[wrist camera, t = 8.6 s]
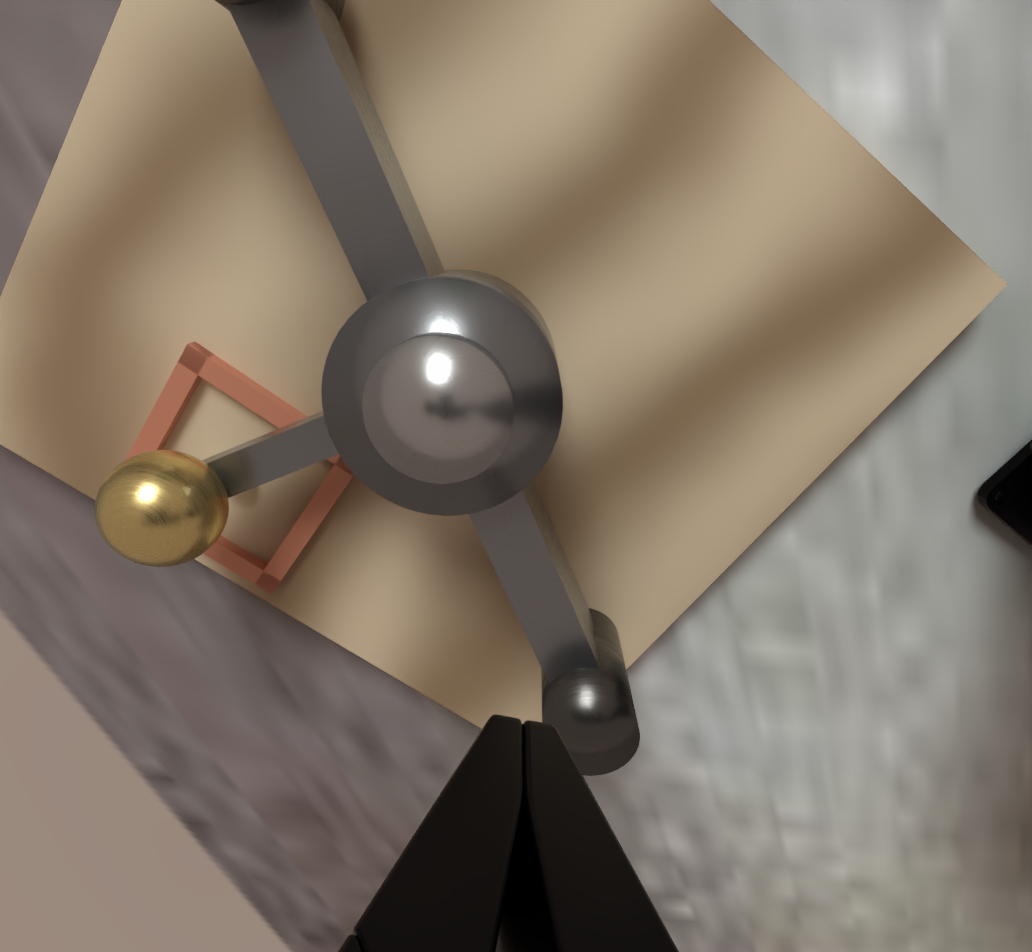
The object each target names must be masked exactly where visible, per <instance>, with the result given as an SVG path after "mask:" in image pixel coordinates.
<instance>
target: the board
mask: <svg viewBox="0 0 1032 952" xmlns="http://www.w3.org/2000/svg"><path fill="white" fill-rule="evenodd" d="M339 23H340V26H341V28H342V31H343V33H344V35H345V38H346V40H347V42H348V45H349V47H350V49H351V52H352V54H353V56H354V59H355V61H356V63H357V66H358V68H359V70H360V73H361V75H362V78H363V80H364V82H365V85H366V87H367V89H368V92H369V94H370V96H371V99H372V101H373V103H374V106H375V108H376V110H377V113H378V115H379V117H380V120H381V122H382V125H383V127H384V129H385V132H386V134H387V136H388V139H389V141H390V143H391V146H392V148H393V150H394V153H395V155H396V157H397V160H398V162H399V164H400V167H401V169H402V172H403V174H404V176H405V179H406V181H407V183H408V186H409V188H410V190H411V193H412V195H413V197H414V200H415V202H416V204H417V207H418V209H419V211H420V214H421V216H422V219H423V221H424V223H425V226H426V228H427V230H428V233H429V235H430V237H431V240H432V242H433V244H434V247H435V249H436V251H437V254H438V256H439V258H440V261H441V263H442V266H443V268H444V270H454V269H464V270H474V271H479V272H484V273H487V274H490V275H493V276H495V277H498V278H500V279H502V280H504V281H506V282H508V283H510V284H511V285H512V286H514V287H515V288H517V289H518V290H519V291H521V292H522V293H523V294H524V295H525V296H526V297H527V298H528V299H529V300H530V301H531V302H532V303H533V305H534V306H535V307H536V308H537V309H538V311H539V312H540V314H541V316H542V317H543V319H544V320H545V322H546V325H547V327H548V329H549V331H550V334H551V337H552V340H553V344H554V349H555V354H556V359H557V364H558V369H559V374H560V380H561V386H562V393H563V412H562V422H561V426H560V431H559V435H558V438H557V441H556V443H555V446H554V449H553V451H552V453H551V455H550V457H549V458H548V460H547V462H546V464H545V465H544V467H543V468H542V469H541V471H540V472H539V473H538V475H537V476H536V477H535V478H534V482H535V484H536V486H537V489H538V491H539V494H540V496H541V498H542V501H543V503H544V505H545V508H546V510H547V512H548V515H549V517H550V519H551V522H552V524H553V526H554V529H555V531H556V533H557V536H558V538H559V541H560V543H561V545H562V548H563V550H564V552H565V555H566V557H567V559H568V562H569V564H570V566H571V569H572V571H573V573H574V576H575V578H576V580H577V583H578V585H579V588H580V590H581V592H582V595H583V597H584V599H585V602H586V604H587V606H588V608H591V609H594V610H597V611H599V612H601V613H603V614H605V615H606V616H607V617H609V618H610V619H611V621H612V622H613V623H614V625H615V626H616V628H617V631H618V635H619V639H620V644H621V649H622V653H623V658H624V663H625V667H626V670H627V669H628V668H629V667H630V666H631V665H632V664H633V663H634V662H635V661H636V660H637V659H638V658H639V656H640V655H641V654H642V653H643V652H644V651H645V650H646V649H647V648H648V647H649V646H650V645H651V644H652V643H653V642H654V641H655V640H656V639H657V638H658V637H659V636H660V635H661V634H662V633H663V632H664V631H665V630H666V629H667V628H668V627H669V626H670V625H671V624H672V623H673V622H674V621H675V620H676V619H677V618H678V617H679V616H680V615H681V614H682V613H683V612H684V611H685V610H686V609H687V608H688V607H689V606H690V605H691V604H692V603H693V602H694V601H695V600H696V599H697V598H698V597H699V596H700V595H701V594H702V593H703V592H704V591H705V590H706V589H707V588H708V587H709V586H710V585H711V584H712V583H713V582H714V581H715V580H716V579H717V578H718V577H719V576H720V575H721V574H722V573H723V572H724V571H725V570H726V569H727V568H728V567H729V566H730V565H731V564H732V563H733V562H734V561H735V560H736V559H737V558H738V557H739V556H740V555H741V554H742V553H743V552H744V551H745V550H746V549H747V547H748V546H749V545H750V544H751V543H752V542H753V541H754V540H755V539H756V538H757V537H758V536H759V535H760V534H761V533H762V532H763V531H764V530H765V529H766V528H767V527H768V526H769V525H770V524H771V523H772V522H773V521H774V520H775V519H776V518H777V517H778V516H779V515H780V514H781V513H782V512H783V511H784V510H785V509H786V508H787V507H788V506H789V505H790V504H791V503H792V502H793V501H794V500H795V499H796V498H797V497H798V496H799V495H800V494H801V493H802V492H803V491H804V490H805V489H806V488H807V487H808V486H809V485H810V484H811V483H812V482H813V481H814V480H815V479H816V478H817V477H818V476H819V475H820V474H821V473H822V472H823V471H824V470H825V469H826V468H827V467H828V466H829V465H830V464H831V463H832V462H833V461H834V460H835V459H836V458H837V457H838V456H839V455H840V454H841V453H842V452H843V451H844V450H845V449H846V448H847V447H848V446H849V445H850V444H851V443H852V442H853V441H854V440H855V439H856V437H857V436H858V435H859V434H860V433H861V432H862V431H863V430H864V429H865V428H866V427H867V426H868V425H869V424H870V423H871V422H872V421H873V420H874V419H875V418H876V417H877V416H878V415H879V414H880V413H881V412H882V411H883V410H884V409H885V408H886V407H887V406H888V405H889V404H890V403H891V402H892V401H893V400H894V399H895V398H896V397H897V396H898V395H899V394H900V393H901V392H902V391H903V390H904V389H905V388H906V387H907V386H908V385H909V384H910V383H911V382H912V381H913V380H914V379H915V378H916V377H917V376H918V375H919V374H920V373H921V372H922V371H923V370H924V369H925V368H926V367H927V366H928V365H929V364H930V363H931V362H932V361H933V360H934V359H935V358H936V357H937V356H938V355H939V354H940V353H941V352H942V351H943V350H944V349H945V348H946V347H947V346H948V345H949V344H950V343H951V342H952V341H953V340H954V339H955V338H956V337H957V336H958V335H959V334H960V333H961V332H962V331H963V330H964V328H965V327H966V326H967V325H968V324H969V323H970V322H971V321H972V320H973V319H974V318H975V317H976V316H977V315H978V314H979V313H980V312H981V311H982V310H983V309H984V308H985V307H986V306H987V305H988V304H989V303H990V302H991V301H992V300H993V299H994V298H995V297H996V296H997V295H998V294H999V293H1000V292H1001V291H1002V290H1003V289H1004V288H1005V287H1006V286H1007V285H1008V284H1007V283H1006V282H1005V281H1004V280H1003V279H1002V278H1001V277H1000V276H999V275H997V274H996V273H995V272H994V271H993V270H992V269H991V268H990V267H989V266H988V265H987V264H986V263H985V262H984V261H983V260H982V259H981V258H980V257H979V256H977V255H976V254H975V253H974V252H973V251H972V250H971V249H970V248H969V247H968V246H967V245H966V244H965V243H964V242H963V241H962V240H961V239H960V238H959V237H958V236H956V235H955V234H954V233H953V232H952V231H951V230H950V229H949V228H948V227H947V226H946V225H945V224H944V223H943V222H942V221H941V220H940V219H939V218H938V217H936V216H935V215H934V214H933V213H932V212H931V211H930V210H929V209H928V208H927V207H926V206H925V205H924V204H923V203H922V202H921V201H920V200H919V199H918V198H916V197H915V196H914V195H913V194H912V193H911V192H910V191H909V190H908V189H907V188H906V187H905V186H904V185H903V184H902V183H901V182H900V181H899V180H898V179H897V178H895V177H894V176H893V175H892V174H891V173H890V172H889V171H888V170H887V169H886V168H885V167H884V166H883V165H882V164H881V163H880V162H879V161H878V160H877V159H875V158H874V157H873V156H872V155H871V154H870V153H869V152H868V151H867V150H866V149H865V148H864V147H863V146H862V145H861V144H860V143H859V142H858V141H857V140H856V139H854V138H853V137H852V136H851V135H850V134H849V133H848V132H847V131H846V130H845V129H844V128H843V127H842V126H841V125H840V124H839V123H838V122H837V121H836V120H834V119H833V118H832V117H831V116H830V115H829V114H828V113H827V112H826V111H825V110H824V109H823V108H822V107H821V106H820V105H819V104H818V103H817V102H816V101H814V100H813V99H812V98H811V97H810V96H809V95H808V94H807V93H806V92H805V91H804V90H803V89H802V88H801V87H800V86H799V85H798V84H797V83H796V82H795V81H793V80H792V79H791V78H790V77H789V76H788V75H787V74H786V73H785V72H784V71H783V70H782V69H781V68H780V67H779V66H778V65H777V64H776V63H775V62H773V61H772V60H771V59H770V58H769V57H768V56H767V55H766V54H765V53H764V52H763V51H762V50H761V49H760V48H759V47H758V46H757V45H756V44H755V43H754V42H752V41H751V40H750V39H749V38H748V37H747V36H746V35H745V34H744V33H743V32H742V31H741V30H740V29H739V28H738V27H737V26H736V25H735V24H734V23H732V22H731V21H730V20H729V19H728V18H727V17H726V16H725V15H724V14H723V13H722V12H721V11H720V10H719V9H718V8H717V7H716V6H715V5H714V4H712V3H711V2H710V1H709V0H345V4H344V9H343V12H342V15H341V17H340V19H339ZM366 302H367V299H366V297H365V295H364V293H363V291H362V289H361V287H360V284H359V282H358V280H357V278H356V276H355V274H354V272H353V270H352V268H351V266H350V263H349V261H348V259H347V257H346V255H345V253H344V251H343V249H342V247H341V244H340V242H339V240H338V238H337V236H336V234H335V232H334V230H333V228H332V225H331V223H330V221H329V219H328V217H327V215H326V213H325V211H324V209H323V206H322V204H321V202H320V200H319V198H318V196H317V194H316V192H315V190H314V188H313V185H312V183H311V181H310V179H309V177H308V175H307V173H306V171H305V169H304V166H303V164H302V162H301V160H300V158H299V156H298V154H297V152H296V150H295V147H294V145H293V143H292V141H291V139H290V137H289V135H288V133H287V131H286V128H285V126H284V124H283V122H282V120H281V118H280V116H279V114H278V112H277V110H276V107H275V105H274V103H273V101H272V99H271V97H270V95H269V93H268V91H267V88H266V86H265V84H264V82H263V80H262V78H261V76H260V74H259V72H258V69H257V67H256V65H255V63H254V61H253V59H252V57H251V55H250V53H249V50H248V48H247V46H246V44H245V42H244V40H243V38H242V36H241V34H240V32H239V29H238V27H237V25H236V23H235V21H234V19H233V17H232V15H231V13H230V11H228V10H227V9H226V8H224V7H223V6H222V5H220V4H219V3H217V2H216V1H215V0H122V2H121V5H120V7H119V10H118V12H117V14H116V17H115V19H114V22H113V24H112V27H111V29H110V31H109V34H108V36H107V39H106V41H105V44H104V46H103V49H102V51H101V53H100V56H99V58H98V61H97V63H96V66H95V68H94V70H93V73H92V75H91V78H90V80H89V83H88V85H87V87H86V90H85V92H84V95H83V97H82V100H81V102H80V105H79V107H78V109H77V112H76V114H75V117H74V119H73V122H72V124H71V126H70V129H69V131H68V134H67V136H66V139H65V141H64V144H63V146H62V148H61V151H60V153H59V156H58V158H57V161H56V163H55V165H54V168H53V170H52V173H51V175H50V178H49V180H48V182H47V185H46V187H45V190H44V192H43V195H42V197H41V200H40V202H39V204H38V207H37V209H36V212H35V214H34V217H33V219H32V221H31V224H30V226H29V229H28V231H27V234H26V236H25V238H24V241H23V243H22V246H21V248H20V251H19V253H18V256H17V258H16V260H15V263H14V265H13V268H12V270H11V273H10V275H9V277H8V280H7V282H6V285H5V287H4V290H3V292H2V295H1V297H0V444H1V445H2V446H4V447H6V448H7V449H9V450H11V451H12V452H14V453H16V454H18V455H19V456H21V457H23V458H24V459H26V460H28V461H29V462H31V463H33V464H34V465H36V466H38V467H40V468H41V469H43V470H45V471H46V472H48V473H50V474H51V475H53V476H55V477H56V478H58V479H60V480H62V481H63V482H65V483H67V484H68V485H70V486H72V487H73V488H75V489H77V490H78V491H80V492H82V493H84V494H85V495H87V496H89V497H90V498H92V499H94V500H95V501H96V498H97V494H98V491H99V489H100V486H101V485H102V483H103V481H104V480H105V478H106V477H107V475H108V474H109V473H110V472H111V471H112V470H113V469H114V468H115V467H116V466H118V465H119V464H120V463H122V462H123V461H125V460H126V458H127V456H128V454H129V452H130V450H131V448H132V446H133V445H134V443H135V441H136V439H137V437H138V435H139V433H140V431H141V430H142V428H143V426H144V424H145V422H146V420H147V418H148V417H149V415H150V413H151V411H152V409H153V407H154V405H155V403H156V402H157V400H158V398H159V396H160V394H161V392H162V390H163V388H164V387H165V385H166V383H167V381H168V379H169V377H170V375H171V373H172V372H173V370H174V368H175V366H176V364H177V362H178V360H179V358H180V357H181V355H182V353H183V351H184V349H185V347H186V345H187V344H188V343H192V342H197V343H198V344H200V345H201V346H203V347H204V348H206V349H207V350H209V351H210V352H212V353H213V354H215V355H216V356H218V357H219V358H221V359H222V360H224V361H225V362H227V363H228V364H230V365H231V366H233V367H234V368H236V369H237V370H239V371H240V372H242V373H243V374H245V375H246V376H248V377H249V378H251V379H252V380H254V381H255V382H257V383H258V384H260V385H261V386H263V387H264V388H266V389H267V390H269V391H270V392H272V393H273V394H275V395H276V396H278V397H279V398H281V399H282V400H284V401H285V402H287V403H288V404H290V405H291V406H293V407H294V408H296V409H297V410H299V411H300V412H302V413H303V414H305V415H306V416H311V415H313V414H316V413H318V412H320V411H323V408H322V394H321V387H322V376H323V370H324V366H325V362H326V358H327V355H328V353H329V350H330V347H331V345H332V343H333V341H334V339H335V337H336V336H337V334H338V332H339V330H340V329H341V328H342V326H343V325H344V324H345V322H346V321H347V320H348V318H349V317H350V316H351V315H352V314H353V313H354V312H355V311H356V310H357V309H358V308H359V307H360V306H362V305H363V304H365V303H366ZM277 429H279V428H278V427H276V426H275V425H273V424H272V423H270V422H269V421H267V420H266V419H264V418H263V417H261V416H260V415H258V414H256V413H255V412H253V411H252V410H250V409H249V408H247V407H246V406H244V405H243V404H241V403H240V402H238V401H237V400H235V399H234V398H232V397H231V396H229V395H227V394H226V393H224V392H223V391H221V390H220V389H218V388H217V387H215V386H214V385H212V384H211V383H209V382H208V381H206V380H205V379H203V378H202V379H201V380H200V382H199V384H198V386H197V388H196V389H195V391H194V393H193V395H192V397H191V398H190V400H189V402H188V404H187V406H186V407H185V409H184V411H183V413H182V415H181V416H180V418H179V420H178V422H177V424H176V426H175V427H174V429H173V431H172V433H171V435H170V436H169V438H168V440H167V442H166V444H165V445H164V447H163V449H162V450H174V451H179V452H183V453H187V454H190V455H192V456H194V457H197V458H198V459H200V460H204V459H206V458H209V457H211V456H213V455H216V454H218V453H221V452H223V451H226V450H228V449H230V448H233V447H235V446H238V445H240V444H243V443H245V442H247V441H250V440H252V439H255V438H257V437H260V436H262V435H265V434H267V433H269V432H272V431H274V430H277ZM333 466H334V464H333V463H331V462H330V461H328V460H327V459H325V460H323V461H320V462H318V463H315V464H313V465H310V466H308V467H305V468H303V469H300V470H298V471H295V472H293V473H290V474H288V475H285V476H283V477H280V478H278V479H275V480H272V481H270V482H267V483H265V484H262V485H260V486H257V487H255V488H252V489H250V490H247V491H245V492H244V493H242V494H238V495H235V496H232V497H230V498H228V500H229V514H228V519H227V523H226V525H225V528H224V530H223V532H222V534H221V536H223V537H224V538H226V539H228V540H229V541H231V542H233V543H234V544H236V545H238V546H239V547H241V548H243V549H244V550H246V551H248V552H249V553H251V554H253V555H254V556H256V557H258V558H259V559H261V560H263V561H264V562H266V563H267V564H268V563H269V562H270V560H271V559H272V557H273V556H274V554H275V553H276V551H277V550H278V548H279V547H280V545H281V544H282V542H283V541H284V539H285V538H286V536H287V535H288V533H289V532H290V530H291V529H292V527H293V526H294V524H295V523H296V521H297V520H298V519H299V517H300V516H301V514H302V513H303V511H304V510H305V508H306V507H307V505H308V504H309V502H310V501H311V499H312V498H313V496H314V495H315V493H316V492H317V490H318V489H319V487H320V486H321V484H322V483H323V481H324V480H325V478H326V477H327V475H328V474H329V472H330V471H331V469H332V468H333ZM195 560H197V561H199V562H200V563H202V564H204V565H205V566H207V567H209V568H210V569H212V570H214V571H215V572H217V573H219V574H221V575H222V576H224V577H226V578H227V579H229V580H231V581H232V582H234V583H236V584H237V585H239V586H241V587H243V588H244V589H246V590H248V591H249V592H251V593H253V594H254V595H256V596H258V597H259V598H261V599H263V600H265V601H266V602H268V603H270V604H271V605H273V606H275V607H276V608H278V609H280V610H281V611H283V612H285V613H287V614H288V615H290V616H292V617H293V618H295V619H297V620H298V621H300V622H302V623H303V624H305V625H307V626H308V627H310V628H312V629H314V630H315V631H317V632H319V633H320V634H322V635H324V636H325V637H327V638H329V639H330V640H332V641H334V642H336V643H337V644H339V645H341V646H342V647H344V648H346V649H347V650H349V651H351V652H352V653H354V654H356V655H358V656H359V657H361V658H363V659H364V660H366V661H368V662H369V663H371V664H373V665H374V666H376V667H378V668H380V669H381V670H383V671H385V672H386V673H388V674H390V675H391V676H393V677H395V678H396V679H398V680H400V681H402V682H403V683H405V684H407V685H408V686H410V687H412V688H413V689H415V690H417V691H418V692H420V693H422V694H424V695H425V696H427V697H429V698H430V699H432V700H434V701H435V702H437V703H439V704H440V705H442V706H444V707H446V708H447V709H449V710H451V711H452V712H454V713H456V714H457V715H459V716H461V717H462V718H464V719H466V720H467V721H469V722H471V723H473V724H474V725H476V726H478V727H479V728H481V729H482V728H483V727H484V725H485V724H486V722H487V721H488V719H489V718H490V717H491V716H492V715H494V714H497V715H503V716H508V717H514V718H518V719H520V720H521V722H522V724H523V723H524V722H525V721H527V720H531V721H537V722H542V685H541V666H540V664H539V662H538V660H537V658H536V656H535V653H534V651H533V649H532V647H531V645H530V643H529V641H528V639H527V637H526V634H525V632H524V630H523V628H522V626H521V624H520V622H519V620H518V618H517V615H516V613H515V611H514V609H513V607H512V605H511V603H510V601H509V599H508V597H507V594H506V592H505V590H504V588H503V586H502V584H501V582H500V580H499V578H498V575H497V573H496V571H495V569H494V567H493V565H492V563H491V561H490V559H489V556H488V554H487V552H486V550H485V548H484V546H483V544H482V542H481V540H480V537H479V535H478V533H477V531H476V529H475V527H474V525H473V523H472V521H471V519H470V516H469V514H465V515H454V516H442V515H430V514H425V513H420V512H416V511H413V510H409V509H406V508H403V507H401V506H399V505H396V504H394V503H392V502H390V501H388V500H386V499H385V498H383V497H381V496H380V495H378V494H376V493H375V492H374V491H372V490H371V489H370V488H369V487H367V486H366V485H365V484H364V483H363V482H362V481H361V480H359V479H358V478H357V477H356V476H355V475H354V476H353V477H352V479H351V480H350V482H349V483H348V485H347V486H346V487H345V489H344V490H343V492H342V493H341V495H340V496H339V498H338V499H337V500H336V502H335V503H334V505H333V506H332V508H331V509H330V511H329V512H328V514H327V515H326V516H325V518H324V519H323V521H322V522H321V524H320V525H319V527H318V528H317V530H316V531H315V532H314V534H313V535H312V537H311V538H310V540H309V541H308V543H307V544H306V546H305V547H304V548H303V550H302V551H301V553H300V554H299V556H298V557H297V559H296V560H295V562H294V563H293V564H292V566H291V567H290V569H289V570H288V572H287V573H286V575H285V576H284V578H283V579H282V580H281V582H280V583H279V585H278V586H277V588H276V589H275V590H274V592H273V593H272V595H271V594H270V593H268V592H266V591H265V590H263V589H261V588H260V587H258V586H256V585H255V584H253V583H251V582H250V581H248V580H246V579H245V578H243V577H241V576H240V575H238V574H236V573H234V572H233V571H231V570H229V569H228V568H226V567H224V566H223V565H221V564H219V563H218V562H216V561H214V560H213V559H211V558H209V557H208V556H206V555H204V554H202V555H200V556H198V557H197V558H195Z"/></svg>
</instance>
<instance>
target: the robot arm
mask: <svg viewBox="0 0 1032 952" xmlns="http://www.w3.org/2000/svg"><path fill="white" fill-rule="evenodd" d="M1002 490H1003V494H1002V495H1001V497H1000V498H998V499H996V500H995V496H996V495H997V494H998V493H999V492H1000V491H1002ZM978 501H979V502H980V503H981V505H983V506H984V507H985V508H986V509H987V510H989V511H990V512H991V513H992V514H993V515H995V516H996V517H997V518H998V519H999V520H1001V521H1002V522H1003V523H1004V524H1005V525H1007V526H1008V527H1009V528H1010V529H1011V530H1012V531H1014V532H1015V533H1016V534H1017V535H1018V536H1020V537H1021V538H1022V539H1023V540H1024V541H1026V542H1027V543H1028V544H1029V545H1030V546H1032V440H1031V441H1030V442H1029V443H1028V444H1027V445H1025V446H1024V447H1023V448H1022V449H1021V450H1020V451H1019V452H1018V453H1017V454H1016V455H1014V456H1013V457H1012V458H1011V459H1010V460H1009V461H1008V462H1007V463H1006V464H1005V465H1003V466H1002V467H1001V468H1000V469H999V470H998V471H997V472H996V473H995V474H993V475H992V476H991V477H990V478H989V479H988V480H987V481H986V482H985V483H984V484H983V485H982V486H981V487H980V489H979V492H978ZM338 952H679V951H678V949H677V948H676V946H675V944H674V942H673V940H672V938H671V937H670V935H669V933H668V931H667V929H666V927H665V926H664V924H663V922H662V920H661V918H660V916H659V915H658V913H657V911H656V909H655V907H654V906H653V904H652V902H651V900H650V898H649V896H648V895H647V893H646V891H645V889H644V887H643V885H642V884H641V882H640V880H639V878H638V876H637V874H636V873H635V871H634V869H633V867H632V865H631V863H630V862H629V860H628V858H627V856H626V854H625V853H624V851H623V849H622V847H621V845H620V843H619V842H618V840H617V838H616V836H615V834H614V832H613V831H612V829H611V827H610V825H609V823H608V821H607V820H606V818H605V816H604V814H603V812H602V810H601V809H600V807H599V805H598V803H597V801H596V800H595V798H594V796H593V794H592V792H591V790H590V789H589V787H588V785H587V783H586V781H585V779H584V778H583V776H582V774H581V772H580V770H579V768H578V767H577V765H576V763H575V761H574V759H573V757H572V756H571V754H570V752H569V750H568V748H567V747H566V745H565V743H564V741H563V739H562V737H561V736H560V734H559V732H558V730H557V728H556V727H555V726H554V725H552V724H548V723H542V722H537V721H531V720H527V721H525V722H524V723H523V724H522V722H521V720H520V719H518V718H514V717H508V716H503V715H497V714H494V715H492V716H491V717H490V718H489V719H488V721H487V722H486V724H485V725H484V727H483V728H482V730H481V731H480V733H479V735H478V736H477V738H476V739H475V741H474V742H473V744H472V745H471V747H470V749H469V750H468V752H467V753H466V755H465V756H464V758H463V759H462V761H461V762H460V764H459V766H458V767H457V769H456V770H455V772H454V773H453V775H452V776H451V778H450V780H449V781H448V783H447V784H446V786H445V787H444V789H443V790H442V792H441V794H440V795H439V797H438V798H437V800H436V801H435V803H434V804H433V806H432V808H431V809H430V811H429V812H428V814H427V815H426V817H425V818H424V820H423V822H422V823H421V825H420V826H419V828H418V829H417V831H416V832H415V834H414V836H413V837H412V839H411V840H410V842H409V843H408V845H407V846H406V848H405V850H404V851H403V853H402V854H401V856H400V857H399V859H398V860H397V862H396V864H395V865H394V867H393V868H392V870H391V871H390V873H389V874H388V876H387V877H386V879H385V881H384V882H383V884H382V885H381V887H380V888H379V890H378V891H377V893H376V895H375V896H374V898H373V899H372V901H371V902H370V904H369V905H368V907H367V909H366V910H365V912H364V913H363V915H362V916H361V918H360V919H359V921H358V923H357V924H356V926H355V927H354V930H353V935H349V936H348V937H347V939H346V940H345V942H344V944H343V945H342V947H341V948H340V950H339V951H338Z"/></svg>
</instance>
